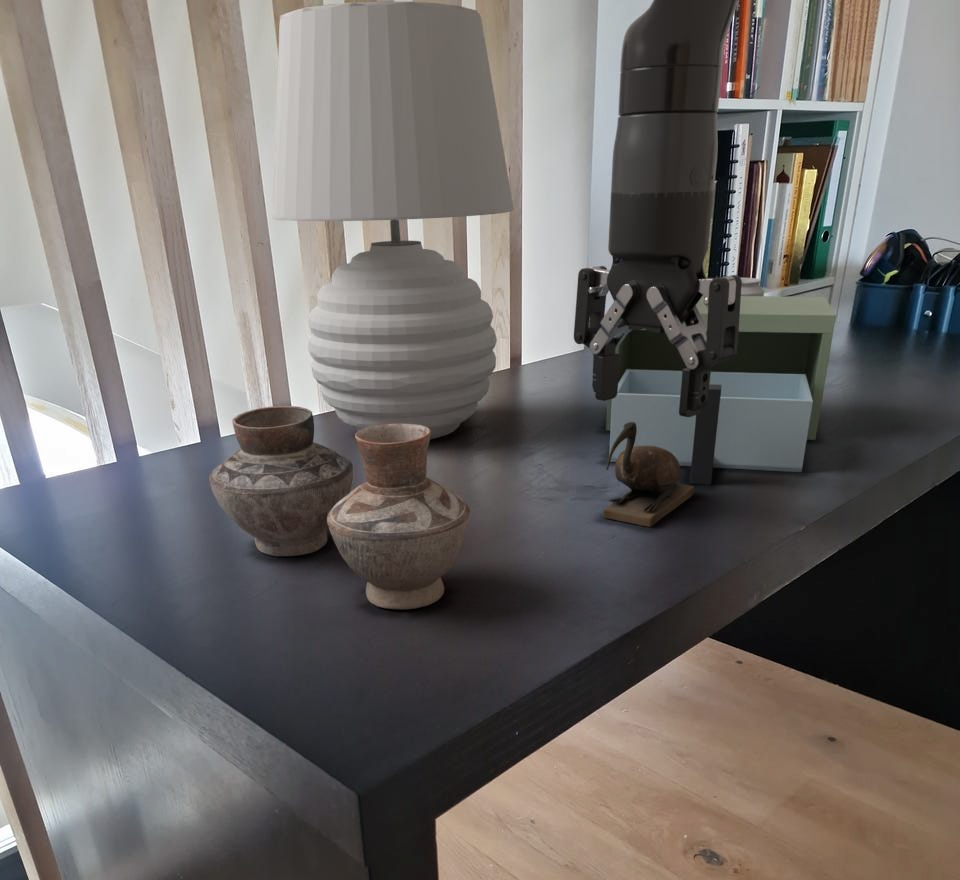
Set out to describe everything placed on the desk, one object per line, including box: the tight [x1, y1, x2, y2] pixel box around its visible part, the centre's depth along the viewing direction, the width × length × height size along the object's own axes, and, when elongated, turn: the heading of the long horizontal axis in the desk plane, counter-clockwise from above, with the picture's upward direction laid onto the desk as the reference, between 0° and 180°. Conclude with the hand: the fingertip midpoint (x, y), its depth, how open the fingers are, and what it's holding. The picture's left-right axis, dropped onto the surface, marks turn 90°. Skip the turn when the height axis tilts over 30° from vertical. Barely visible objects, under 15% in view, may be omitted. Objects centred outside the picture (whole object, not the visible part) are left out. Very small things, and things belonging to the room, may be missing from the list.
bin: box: [608, 369, 813, 486], centre depth 87 cm, size 18×19×9 cm
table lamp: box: [272, 1, 514, 441], centre depth 92 cm, size 25×25×40 cm
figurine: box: [602, 422, 695, 528], centre depth 74 cm, size 14×4×9 cm, turn 146°
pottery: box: [208, 405, 471, 611], centre depth 64 cm, size 11×25×12 cm, turn 46°
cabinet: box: [605, 295, 837, 441], centre depth 99 cm, size 14×23×13 cm, turn 75°
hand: (646, 406), depth 71 cm, fingers open, 8 cm apart
